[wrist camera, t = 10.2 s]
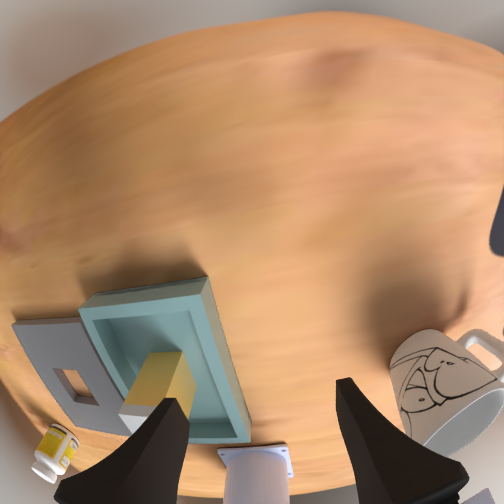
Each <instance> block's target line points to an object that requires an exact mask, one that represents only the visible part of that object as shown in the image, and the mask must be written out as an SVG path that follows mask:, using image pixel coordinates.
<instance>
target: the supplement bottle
mask: <svg viewBox="0 0 504 504" xmlns="http://www.w3.org/2000/svg"><path fill="white" fill-rule="evenodd" d="M78 445H79V441H78V439H77V438H76V437H75V436H74V435H73V434H72V433H71V432H70V431H69V430H67V429H66V428H64V427H63V426H61V425H58V424H52V425H51V426H50V428H49V429H48V431H47V432H46V434H45V436H44V437H43V439H42V441H41V442H40V444H39V446H38V447H37V449H36V451H35V457H36V459H37V462H35V463H34V464H33V465H32V469H33V470H34V471H35V472H36V473H37V474H38V475H39V476H41V477H42V478H44V479H45V480H47V481H49V482H51V483H53V484H54V483H55V481H56V479H57V476H56V475H57V474H58V475H62V474H64V473H65V471H66V469H67V467H68V465H69V463H70V461H71V459H72V457H73V455H74V453H75V452H76V450H77V448H78Z"/></svg>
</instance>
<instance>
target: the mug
mask: <svg viewBox="0 0 504 504" xmlns="http://www.w3.org/2000/svg"><path fill="white" fill-rule="evenodd" d="M474 343H476V344H479V345H481V346H482V347H484V348H485V349H486V350H488V351H489V352H491V353H492V354H493V355H495V356H496V357H497V358H499V359H500V360H501V362H502V363H503V364H502V366H501V367H500V368H498V369H497V370H494V371H490V370H489V369H488V368H487V367H486V366H485V365H484V364H483V363H482V362H481V361H480V360H479V359H478V358H476V357H475V356H474V355H473V354H472V353H470V352H469V351H468V350H467V349H468V347H469V346H470V345H472V344H474ZM389 369H390V377H391V381H392V385H393V389H394V393H395V397H396V402H397V406H398V410H399V414H400V417H401V420H402V423H403V426H404V429H405V432H406V435H407V436H409V437H410V438H411V439H413V440H414V441H416V442H418V443H419V444H421V445H423V446H425V447H426V448H428V449H430V450H432V451H434V452H436V453H438V454H440V455H442V456H445V457H449V456H451V455H453V454H454V453H456V452H458V451H459V450H461V449H463V448H464V447H465V446H467V445H468V444H470V443H471V442H472V441H473V440H475V439H476V438H477V437H478V436H479V435H480V434H482V433H483V432H484V430H486V429H487V428H488V426H489V425H490V424H491V423H492V422H493V421H494V420H495V418H496V417H497V415H498V414H499V413H500V411H501V409H502V408H503V406H504V384H503V382H504V342H503V341H501V340H499V339H497V338H495V337H493V336H492V335H490V334H489V333H487V332H485V331H484V330H481V329H473V330H470V331H468V332H467V333H465V334H464V335H463V336H462V337H460V338H459V339H458V340H457V341H454V340H452V339H451V338H449V337H448V336H446V335H445V334H443V333H442V332H440V331H438V330H434V329H426V330H422V331H419V332H417V333H415V334H413V335H412V336H410V337H409V338H407V339H406V340H405V341H404V342H403V343H402V344H401V345H400V346H399V347H398V349H397V350H396V351H395V353H394V355H393V357H392V359H391V362H390V368H389Z"/></svg>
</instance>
